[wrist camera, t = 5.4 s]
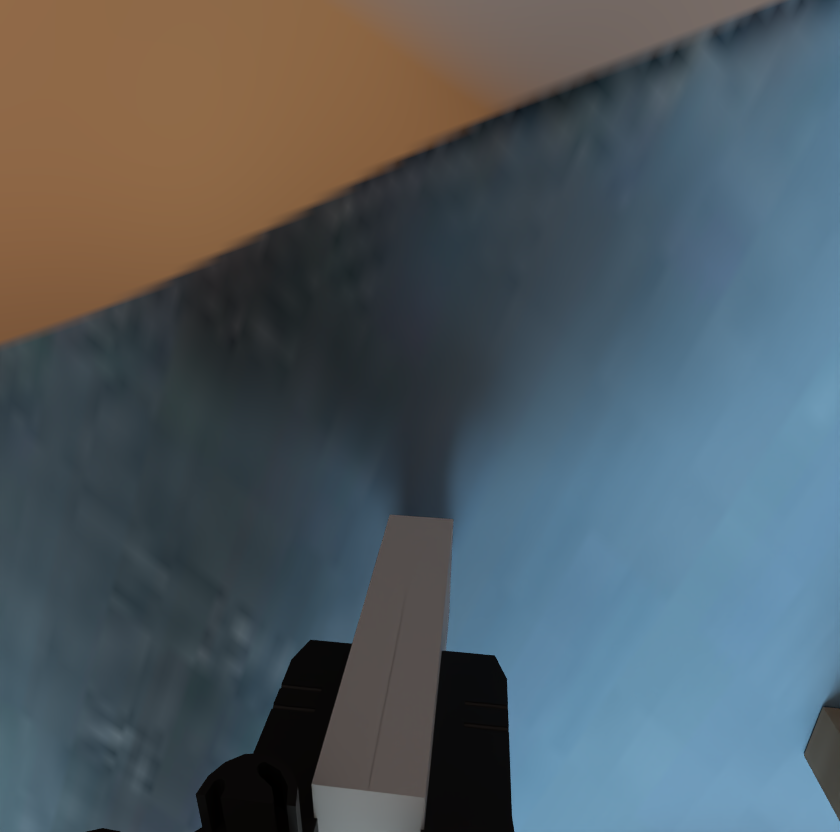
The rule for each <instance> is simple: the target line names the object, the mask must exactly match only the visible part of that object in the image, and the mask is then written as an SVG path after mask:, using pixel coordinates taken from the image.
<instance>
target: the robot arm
mask: <svg viewBox="0 0 840 832" xmlns="http://www.w3.org/2000/svg"><path fill="white" fill-rule="evenodd" d="M452 538H453V519H443V518H429V517H415V516H402V515H390V516H389V519H388V522H387V526H386V529H385V533H384V536H383V540H382V543H381V547H380V550H379V553H378V557H377V560H376V564H375V567H374V571H373V574H372V578H371V581H370V584H369V588H368V591H367V595H366V598H365V602H364V605H363V609H362V612H361V615H360V619H359V622H358V626H357V629H356V633H355V636H354V640H353V643H352V644H349V643H339V642H328V641H318V640H310V641H309V642H308V643H307V644H306V645H305V646H304V647H303V648H302V649H301V650H300V651H299V652H298V653H297V654H296V655H295V656H294V658H293V659H292V660H291V662H290V665H289V667H288V670H287V672H286V674H285V677H284V679H283V682H282V687H281V689H279V692H278V694H277V697H276V699H275V702H274V706H273V709H271V711H270V714H269V716H268V719H267V721H266V724H265V726H264V729H263V731H262V734H261V736H260V738H259V741H258V743H257V746H256V748H255V751H254V753H253V754H244V755H241V756H239V757H237V758H234V759H232V760H229V761H227V762H225V763H224V764H222V765H221V766H220V767H219V768H218V769H216V770H215V771H214V772H213V773H211V774H210V775H209V776H208V777H207V779H206V780H205V782H204V783H203V784H202V786H201V787H200V789H199V790H198V792H197V793H196V798H197V803H198V808H199V813H200V818H201V823H202V828H200V829H198V830H197V831H195V832H514V827H513V821H512V806H511V779H510V752H509V732H508V728H509V724H508V697H507V678H506V676H505V674H504V672H503V671H502V669H501V667H500V665H499V663H498V661H497V659H496V657H495V656H494V655H483V654H473V653H462V652H452V651H446V643H447V632H448V620H449V607H450V584H451V561H452ZM87 832H120V831H115V830H110V829H104V828H101V829H96V830H92V831H87Z"/></svg>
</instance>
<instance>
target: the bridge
mask: <svg viewBox="0 0 840 832" xmlns="http://www.w3.org/2000/svg"><path fill="white" fill-rule="evenodd" d="M804 756H805V758H806V760H807V762H808V764H809V766H810V767H811V769H812V771H813V773H814V775H815V777H816V778H817V780H818V782H819V784H820V786H821V788H822V789H823V791H824V793H825V795H826V797H827V799H828V801H829V802H830V804H831V806H832V808H833V810H834V812H835V813H836V815H837V817H838V819H839V821H840V708H829V707H823V708H822V710H821V713H820V715H819V718H818V721H817V723H816V726H815V728H814V731H813V733H812V736H811V738H810V741H809V744H808V746H807V749H806V751H805V754H804Z"/></svg>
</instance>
